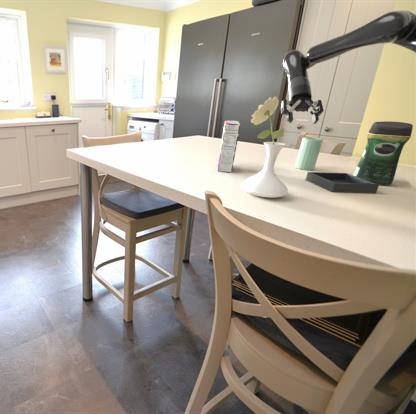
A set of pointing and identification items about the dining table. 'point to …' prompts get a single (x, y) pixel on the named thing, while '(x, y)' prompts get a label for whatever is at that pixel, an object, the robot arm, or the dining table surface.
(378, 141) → the coffee jar
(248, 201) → the dining table surface
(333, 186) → the dark square tray
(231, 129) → the candy bar box
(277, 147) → the flower in vase
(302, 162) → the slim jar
